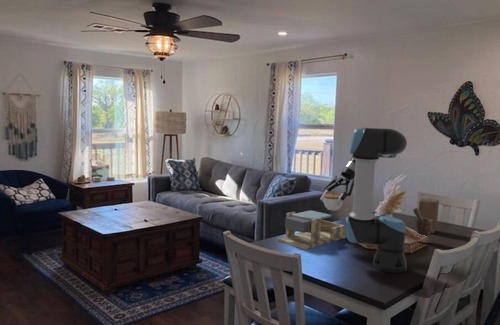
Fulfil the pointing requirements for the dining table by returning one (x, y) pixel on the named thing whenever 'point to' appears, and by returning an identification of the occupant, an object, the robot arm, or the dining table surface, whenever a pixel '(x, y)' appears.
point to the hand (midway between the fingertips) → (329, 202)
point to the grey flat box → (303, 220)
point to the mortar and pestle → (422, 224)
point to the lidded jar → (332, 201)
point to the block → (429, 211)
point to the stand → (314, 234)
